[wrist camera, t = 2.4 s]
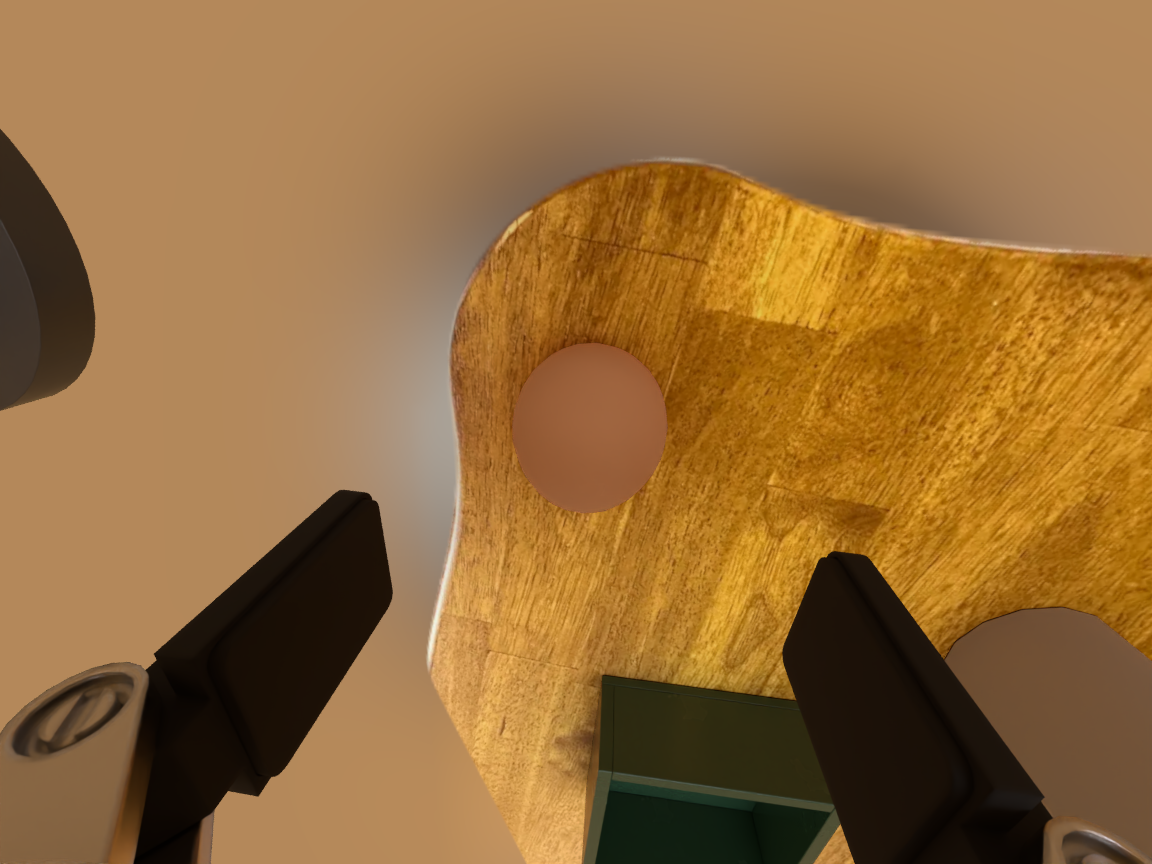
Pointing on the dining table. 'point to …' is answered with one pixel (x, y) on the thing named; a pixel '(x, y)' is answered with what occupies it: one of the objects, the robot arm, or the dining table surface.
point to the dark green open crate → (702, 779)
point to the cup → (1068, 712)
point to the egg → (589, 427)
